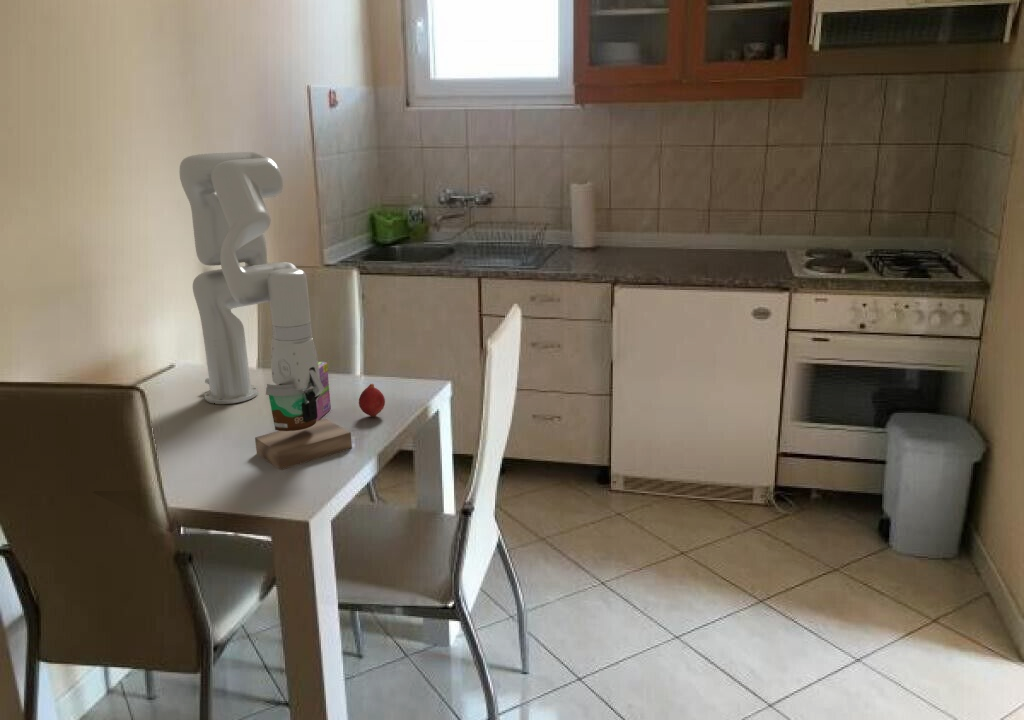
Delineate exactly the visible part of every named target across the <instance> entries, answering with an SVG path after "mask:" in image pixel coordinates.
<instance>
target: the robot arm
mask: <svg viewBox="0 0 1024 720" xmlns="http://www.w3.org/2000/svg"><path fill="white" fill-rule="evenodd" d="M178 171H179V179H180V184H181V187H182V189H183V191H184V193H185V196H186V198H187V200H188V202H189V204H190V205H189V206H190V208H191V209H190V210H191V218H192V226H193V237H194V238H193V239H194V245H195V252H196V257H197V259H198V260H199V262H200V263H201V264H203V265H205V266H208V267H209V266H213V267H215V266H220V267H221V269H220V268H219V269H212V270H208V271H203V272H202V273H200V274H198V275H197V276H196V277H195V278H194V279H193V280H192V293H193V297H194V299H195V300H194V301H195V303H196V306H197V310H198V312H199V313H198V314H199V317H200V322H201V323H200V324H201V329H202V335H203V342H204V343H203V344H204V349H205V357H206V365H207V374H208V378H205V380H204V383H205V384H207V385H208V386H209V390H208V391H206V392H205V394H204V400H205V401H206V402H208V403H209V404H214V403H215V405H229V404H237V403H243V402H246V401H249V400H251V399H254V398H255V397H257V396H258V395H259V389H258V387H257V386H255V385H253V384H251V378H250V377H251V376H250V368H249V359H248V351H247V343H246V342H247V341H246V335H245V334H246V333H245V327H244V324H243V322H242V321H241V320H240V318H239V317H237V315H235V314H234V313H233V312H232V310H233V309H237V308H241V307H248V306H253V305H258V304H259V305H260V304H262V303H268V302H269V310H270V318H271V329H272V330H271V331H272V338H271V343H270V366H271V367H270V369H271V370H270V371H271V379H272V382H273V384H274V385H279V384H282V385H291V384H294V387H295V388H296V390H297V391H303V390H304V393H302V398H303V401H304V403H302V412H303V421H304V422H309V421H311V420H314V419H317V417H318V416H317V406H316V401H317V400H318V397H319V395H320V394H321V392H322V391H323V390H324V387H323V385H322V384H321V382H320V375H319V366H318V362H319V361H318V354H317V350H316V346H315V343H314V339H313V331H312V330H313V329H312V320H311V310H310V307H311V306H310V301H309V299H310V298H309V288H308V280H307V279H308V278H307V277H308V276H307V274H306V272H305V271H304V270H303V269H299V268H297V266H296V265H295V264H293V263H291V262H288V261H287V262H286V261H283V262H282V261H280V262H275V263H273V262H272V263H268V254H267V253H268V251H267V242H266V238H265V234H264V233H265V232H266V231H268V229H270V225H271V222H272V221H271V220H272V219H271V216H270V213H269V212H268V209H267V205H265V204H266V203H265V202H264V200H263V199H266V198H267V199H268V198H276V197H278V196H279V195H281V193H282V192H283V188H284V179H283V178H284V177H283V174H282V172H281V170H280V167H279V166H278V164H277V163H276V162H275V161H274V160H273V159H272V158H271V157H268V156H265V155H263V154H260V153H258V152H254V151H239V152H238V151H235V152H234V151H233V152H211V153H210V152H209V153H201V154H200V153H197V154H194V155H188V156H186V157H185V158H183V159H182V160H181V162H180V164H179V170H178ZM240 263H244V265H245V266H243V265H242V266H241V264H240ZM309 382H311V384H312V386H310V388H309V389H313V390H312V391H311V392H310V393H309V395H307V392H306V388H307V387H308V384H309ZM309 389H307V390H309Z"/></svg>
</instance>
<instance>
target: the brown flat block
mask: <svg viewBox="0 0 1024 720" xmlns="http://www.w3.org/2000/svg"><path fill="white" fill-rule="evenodd" d="M254 440H255V441H254V442H255V449H256V454H257V455H258V456H259V455H260V456H259V457H261V458H262V459H264V460H265V461H266V462H268V463H269V464H271V465H273V466H274V467H276V468H277V469H279V470H280V471H281V470H285V469H287V468H291V467H294V466H298V465H301V464H304V462H305V463H307V462H311V461H315V460H317V459H321V458H324V456H325V457H327V455H328V456H331V455H334V453H335V454H338V453H340V451H341V452H343V450H345V451H347V450H346V449H348V450H350V449H349V448H351V449H353V444H352V442H353V441H352V432H351V431H349V430H347V429H346V428H343V427H342V426H340V425H338V424H336V423H334V422H333V421H331V420H329V419H328V418H321V419H319V420H318V421H316V423H315V424H314V425H313V426H311V427H309V428H306V429H302V430H296V431H278V430H276V431H274V432H271V433H267V434H263V435H260V436H255V437H254ZM337 452H338V453H337ZM330 454H331V455H330ZM314 459H315V460H314Z"/></svg>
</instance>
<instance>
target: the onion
mask: <svg viewBox="0 0 1024 720" xmlns="http://www.w3.org/2000/svg"><path fill="white" fill-rule="evenodd" d="M385 405H386V399H385V396H384V394H383V393H382V392H381V390H379V389H378V388H377V387H375V384H374V383H370V384H369V385H368V386H367V387H366V388H365V389H363V390H362V392H361V394H360V396H359V398H358V407H359V408H360V410H361V411H362V412H363V413H364V414H366V415H368V416H370V417H371V418H375V417H377V416H378V414H379V413H381V412H382V411H383V409H384V407H385Z"/></svg>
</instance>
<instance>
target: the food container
mask: <svg viewBox="0 0 1024 720" xmlns="http://www.w3.org/2000/svg"><path fill="white" fill-rule="evenodd" d="M310 386H312V384H311V382H309V384H308V387H307V388H306V392H307V395H309V393H310V392H311V391H312V390H313V389H309V388H310ZM265 389H266V390H265V396H268V399H269V405H270V410H271V413H272V420H273V424H274V425H273V426H274V430H275V431H296V430H302V429H306V428H309V427H311V426H313V425H314V424H315V423H316V419H314V420H311V421H309V422H304V421H303V412H302V403H304V401H303V398H302V393H304V390H303V391H297V390H296V388H295V387H294V384H291V385H282V384H279V385H277V384H270V383H267V384H266V387H265ZM307 389H309V390H307ZM316 405H317V401H316Z"/></svg>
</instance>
